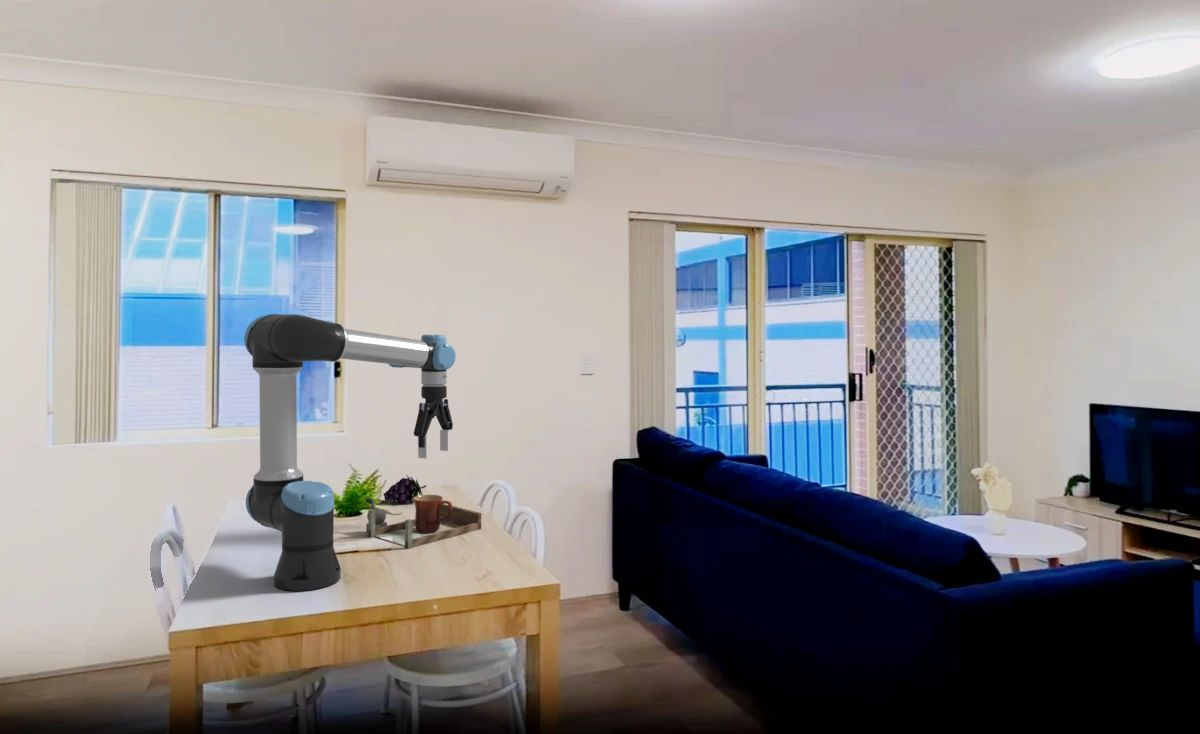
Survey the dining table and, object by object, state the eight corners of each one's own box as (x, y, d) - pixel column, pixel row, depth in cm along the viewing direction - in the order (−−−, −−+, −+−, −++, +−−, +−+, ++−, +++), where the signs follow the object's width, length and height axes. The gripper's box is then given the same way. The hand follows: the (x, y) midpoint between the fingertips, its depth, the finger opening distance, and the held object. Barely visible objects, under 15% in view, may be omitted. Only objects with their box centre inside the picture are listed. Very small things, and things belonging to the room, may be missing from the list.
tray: (408, 549, 204) (408, 514, 204) (355, 532, 219) (356, 500, 219) (481, 528, 226) (481, 497, 226) (429, 515, 241) (429, 485, 241)
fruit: (386, 510, 260) (427, 496, 266) (389, 512, 250) (432, 498, 256) (378, 482, 260) (419, 469, 266) (381, 483, 250) (424, 470, 256)
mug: (408, 534, 219) (408, 500, 218) (418, 526, 228) (419, 494, 227) (447, 536, 218) (447, 502, 217) (456, 528, 226) (456, 495, 226)
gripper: (424, 389, 208) (424, 462, 210) (463, 382, 232) (463, 448, 234) (401, 388, 210) (401, 460, 212) (442, 381, 234) (442, 447, 236)
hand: (434, 454), depth 223 cm, fingers open, 13 cm apart
